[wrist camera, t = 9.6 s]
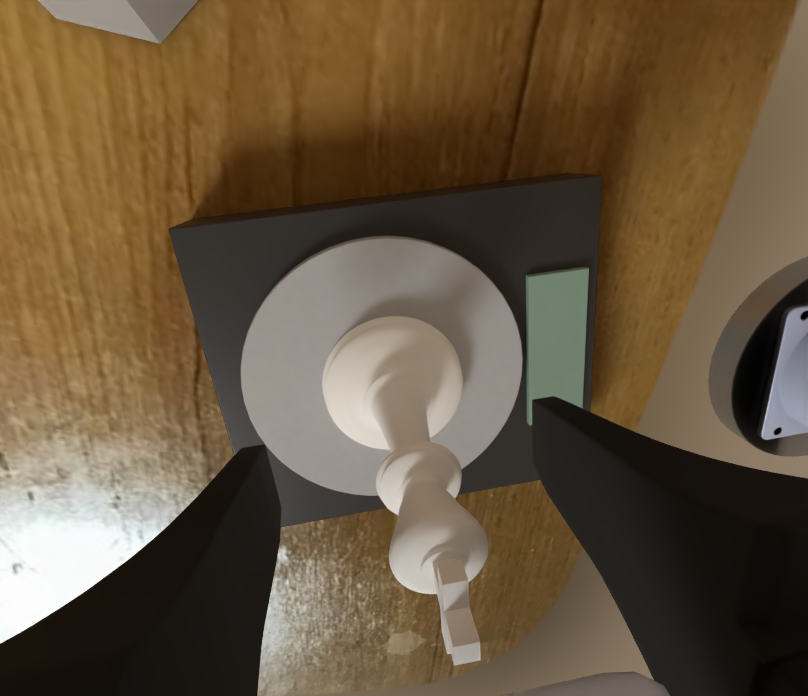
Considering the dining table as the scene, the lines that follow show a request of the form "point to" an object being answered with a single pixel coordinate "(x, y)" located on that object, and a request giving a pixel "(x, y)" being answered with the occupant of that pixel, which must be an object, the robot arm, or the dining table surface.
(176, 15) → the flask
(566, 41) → the dining table surface
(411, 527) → the chess piece
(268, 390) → the scale
